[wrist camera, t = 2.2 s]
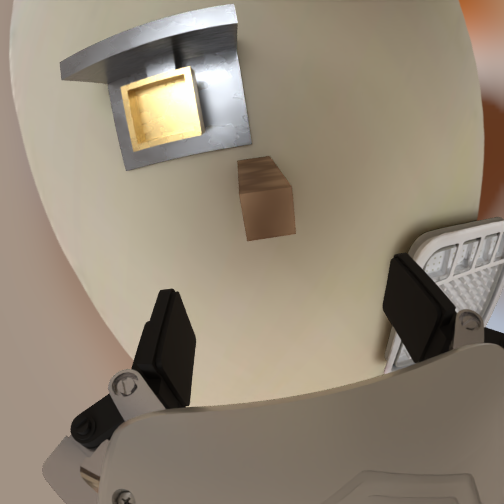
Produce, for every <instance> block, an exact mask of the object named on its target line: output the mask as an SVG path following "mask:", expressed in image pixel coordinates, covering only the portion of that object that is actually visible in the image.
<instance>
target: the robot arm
mask: <svg viewBox="0 0 504 504" xmlns="http://www.w3.org/2000/svg"><path fill="white" fill-rule="evenodd" d="M455 309H456V306H455V305H454V304H453V303H452V302H451V300H450V299H449V298H448V297H447V296H446V295H445V293H444V292H443V291H442V290H441V289H440V288H439V287H438V285H437V284H436V283H435V282H434V281H433V280H432V279H431V278H430V277H429V275H428V274H427V273H426V272H425V271H424V270H423V269H422V268H421V267H420V266H419V265H418V264H417V263H416V262H415V261H414V260H413V259H412V258H411V257H410V255H409V254H407V253H401V254H396V255H394V257H393V258H392V259H391V262H390V268H389V274H388V280H387V285H386V290H385V296H384V300H383V310H384V312H385V314H386V316H387V317H388V319H389V321H390V322H391V324H392V326H393V327H394V329H395V331H396V332H397V334H398V336H399V337H400V339H401V341H402V343H403V344H404V346H405V348H406V350H407V351H408V353H409V355H410V357H411V359H412V360H413V362H414V363H416V364H414V365H411V366H408V367H405V368H402V369H399V370H396V371H393V372H390V373H387V374H384V375H381V376H377V377H374V378H370V379H367V380H363V381H360V382H356V383H352V384H348V385H344V386H340V387H336V388H332V389H327V390H323V391H318V392H313V393H308V394H303V395H297V396H292V397H286V398H279V399H273V400H266V401H258V402H249V403H239V404H229V405H217V406H202V407H186V406H189V404H190V396H191V385H192V375H193V365H194V356H195V347H196V337H195V334H194V331H193V329H192V326H191V323H190V321H189V318H188V316H187V313H186V310H185V307H184V305H183V302H182V299H181V296H180V294H179V292H178V291H177V292H175V290H174V289H165V290H160V292H159V294H158V297H157V300H156V303H155V306H154V309H153V312H152V315H151V318H150V321H148V322H146V324H145V326H144V329H143V332H142V335H141V339H140V342H139V345H138V348H137V352H136V355H135V358H134V362H133V365H132V369H126V370H122V371H120V372H118V373H116V374H115V375H114V376H113V377H112V378H111V380H110V382H109V387H108V390H109V394H108V395H107V396H105V397H104V398H102V399H101V400H100V401H98V402H97V403H95V404H94V405H92V406H91V407H89V408H88V409H86V410H85V411H83V412H82V413H81V414H79V415H78V416H77V417H76V418H75V419H74V420H73V422H72V425H71V435H70V437H68V436H66V437H65V438H64V439H63V440H62V441H61V443H60V444H59V445H58V446H57V448H56V449H55V450H54V451H53V452H52V454H51V455H50V456H49V457H48V458H47V460H46V461H45V463H44V464H43V468H42V472H43V476H44V478H45V480H46V481H47V482H48V483H49V485H50V486H51V487H52V488H53V489H54V491H55V492H56V493H57V494H58V495H59V497H60V498H61V499H62V500H63V501H64V502H65V503H66V504H504V333H501V332H498V331H495V330H492V329H488V328H486V327H484V322H483V319H482V318H481V316H480V315H479V314H478V313H476V312H475V311H473V310H470V309H463V310H460V311H459V312H458V313H457V312H456V311H455Z"/></svg>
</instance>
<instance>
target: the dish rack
mask: <svg viewBox="0 0 504 504" xmlns="http://www.w3.org/2000/svg"><path fill="white" fill-rule="evenodd" d="M408 254H409V255H410V257H411V258H412V259H413V260H414V261H415V262H416V263H417V264H418V265H419V266H420V267H421V268H422V269H423V270H424V271H425V272H426V273H427V274H428V275H429V277H430V278H431V279H432V280H433V281H434V282H435V283H436V284H437V285H438V287H439V288H440V289H441V290H442V291H443V292H444V293H445V295H446V296H447V297H448V298H449V299H450V300H451V302H452V303H453V304H454V305H455V306H456V309H455V311H456V312H457V313H458V312H459V311H460V310H463V309H470V310H473V311H475V312H476V313H478V314H479V315H480V316H481V318H482V319H483V322H484V327H486V325H487V323H488V321H489V319H490V317H491V315H492V313H493V311H494V308H495V306H496V304H497V302H498V299H499V297H500V295H501V292H502V290H503V287H504V219H502V218H500V217H495V218H490V219H485V220H480V221H474V222H470V223H465V224H460V225H455V226H450V227H445V228H441V229H437V230H433V231H429V232H426V233H424V234H422V235H421V236H419V237H418V238H417V239H416V240H415V242H414V243H413V244H412V246H411V248H410V250H409V252H408ZM385 359H386V360H387V363H386V366H385V370H384V374H387V373H390V372H393V371H396V370H399V369H402V368H405V367H408V366H411V365H414V364H416V363H414V362H413V360H412V359H411V357H410V355H409V353H408V351H407V350H406V348H405V346H404V344H403V343H402V341H401V339H400V337H399V336H398V334H397V332H396V331H395V329H394V327H393V326H392V329H391V333H390V336H389V340H388V344H387V347H386V351H385Z"/></svg>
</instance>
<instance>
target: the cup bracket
mask: <svg viewBox="0 0 504 504" xmlns="http://www.w3.org/2000/svg"><path fill="white" fill-rule="evenodd" d="M60 70H61V79H62V80H68V81H83V82H94V83H103V84H108V89H109V95H110V101H111V106H112V111H113V117H114V121H115V126H116V131H117V136H118V140H119V144H120V149H121V153H122V157H123V161H124V165H125V169H126V171H128V170H132V169H135V168H139V167H143V166H147V165H150V164H154V163H158V162H162V161H166V160H171V159H175V158H179V157H184V156H188V155H193V154H198V153H203V152H208V151H213V150H218V149H224V148H230V147H236V146H242V145H249V144H252V142H251V136H250V129H249V123H248V116H247V110H246V104H245V98H244V91H243V85H242V79H241V73H240V67H239V61H238V55H237V17H236V12H235V6H234V4H229V5H222V6H216V7H210V8H204V9H199V10H194V11H190V12H185V13H181V14H177V15H173V16H170V17H166V18H162V19H159V20H156V21H152V22H149V23H146V24H143V25H140V26H137V27H135V28H132V29H129V30H126V31H124V32H121V33H119V34H116V35H114V36H111V37H109V38H107V39H105V40H102V41H100V42H98V43H96V44H94V45H91V46H89V47H87V48H85V49H83V50H81V51H79V52H78V53H76V54H74V55H72V56H70V57H68V58H66V59H65V60H63V61H61V62H60Z"/></svg>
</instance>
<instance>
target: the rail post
mask: <svg viewBox="0 0 504 504" xmlns="http://www.w3.org/2000/svg"><path fill="white" fill-rule="evenodd" d="M237 162H238V181H239V196H240V202H241V208H242V214H243V219H244V225H245V231H246V237H247V241H252V240H259V239H265V238H272V237H278V236H285V235H291V234H296V228H295V216H294V204H293V193H292V186H291V185H290V184H289V182H288V181H287V179H286V178H285V177H284V175H283V174H282V172H281V171H280V170H279V168H278V167H277V166H276V164H275V163H274V161H273V160H272V159H271V157H270V156H266V157H259V158H252V159H246V160H239V161H237Z"/></svg>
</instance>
